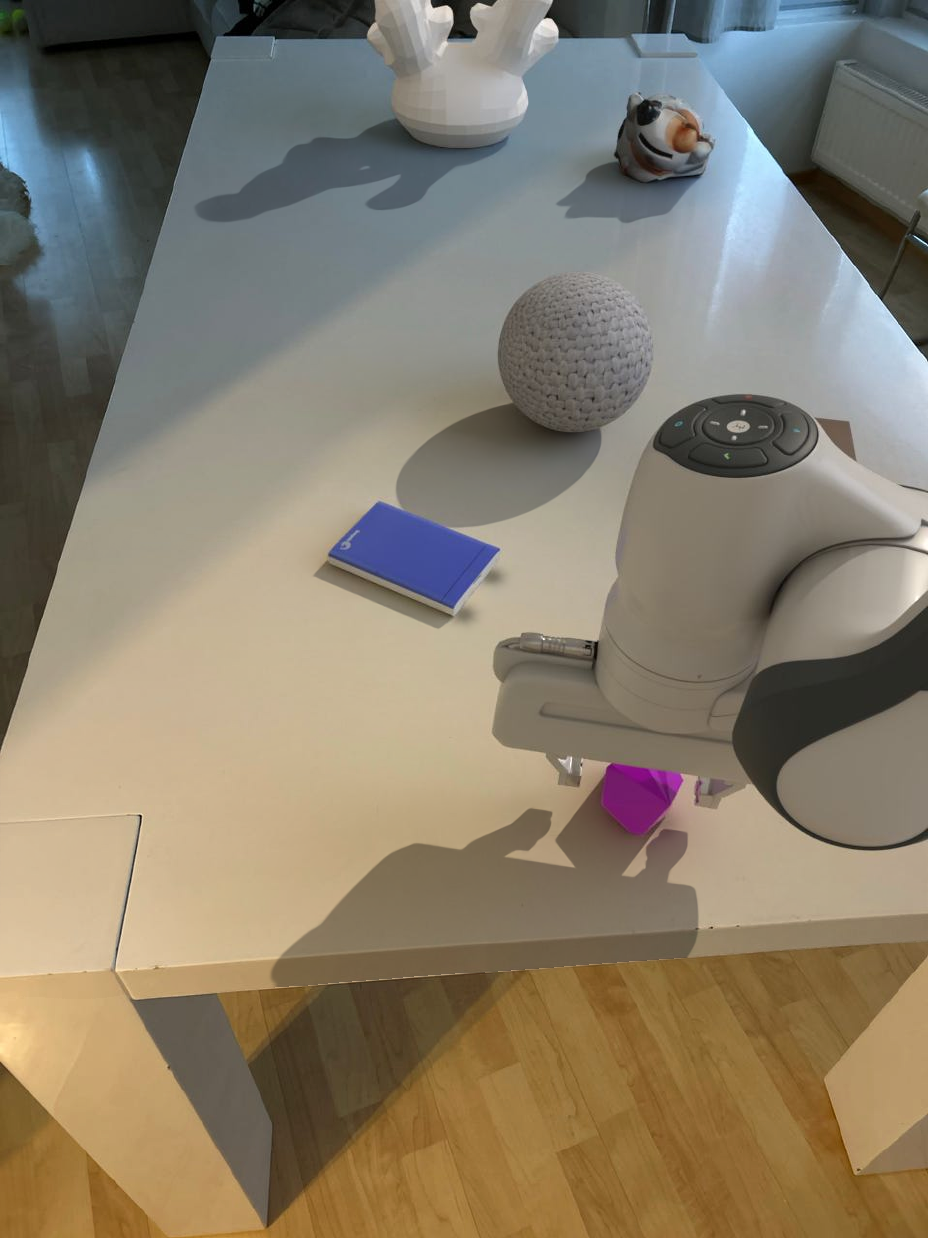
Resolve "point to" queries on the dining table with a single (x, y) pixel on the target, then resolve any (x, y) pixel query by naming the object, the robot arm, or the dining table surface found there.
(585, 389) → the decorative ball
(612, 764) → the crystal
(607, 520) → the dining table surface
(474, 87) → the vase
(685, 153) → the lucky cat figurine
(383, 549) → the hard drive
